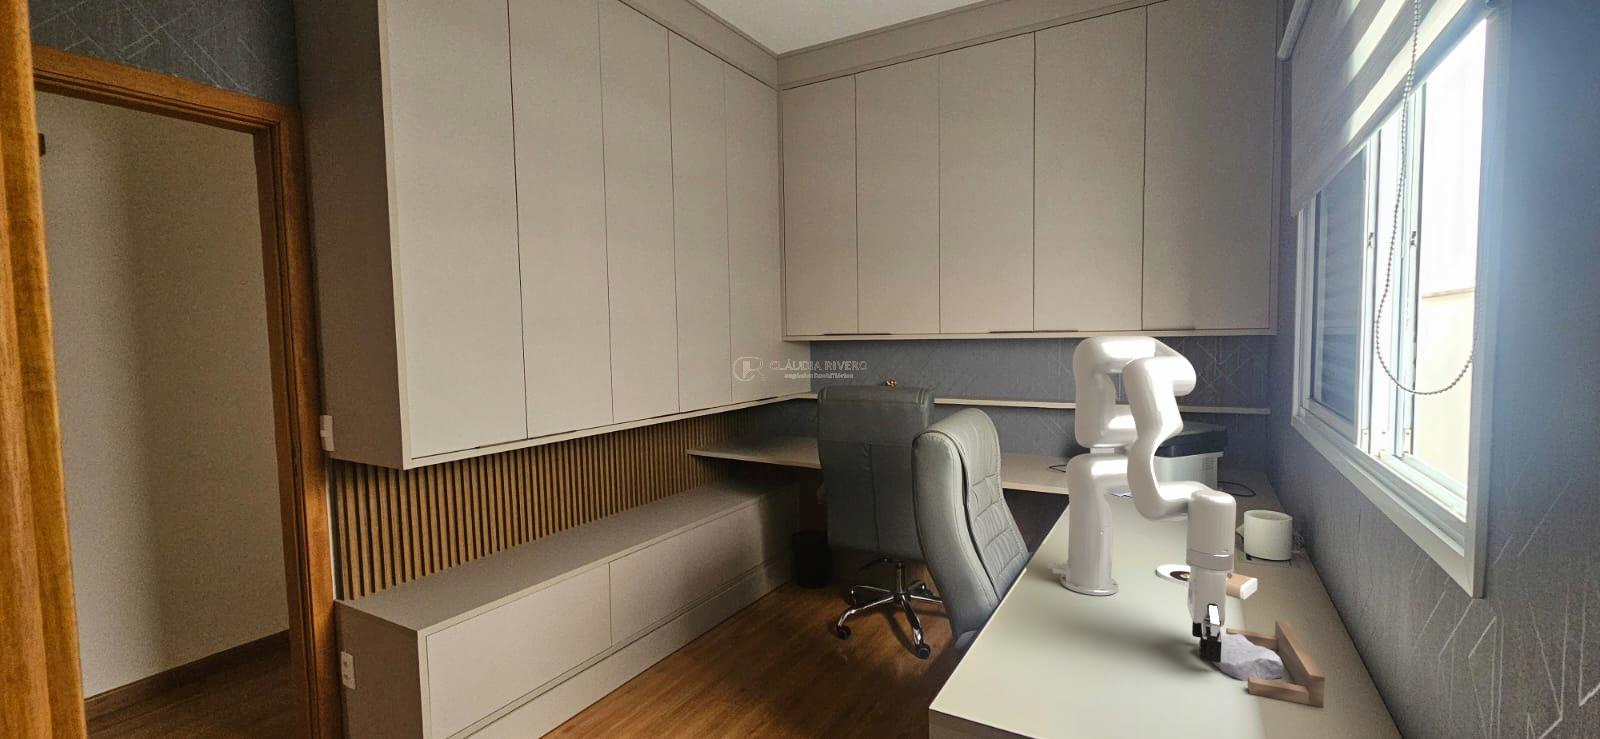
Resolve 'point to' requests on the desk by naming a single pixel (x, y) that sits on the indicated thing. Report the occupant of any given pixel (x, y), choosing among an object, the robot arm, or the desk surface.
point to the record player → (1234, 582)
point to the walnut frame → (1295, 661)
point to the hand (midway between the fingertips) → (1205, 648)
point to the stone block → (1247, 659)
